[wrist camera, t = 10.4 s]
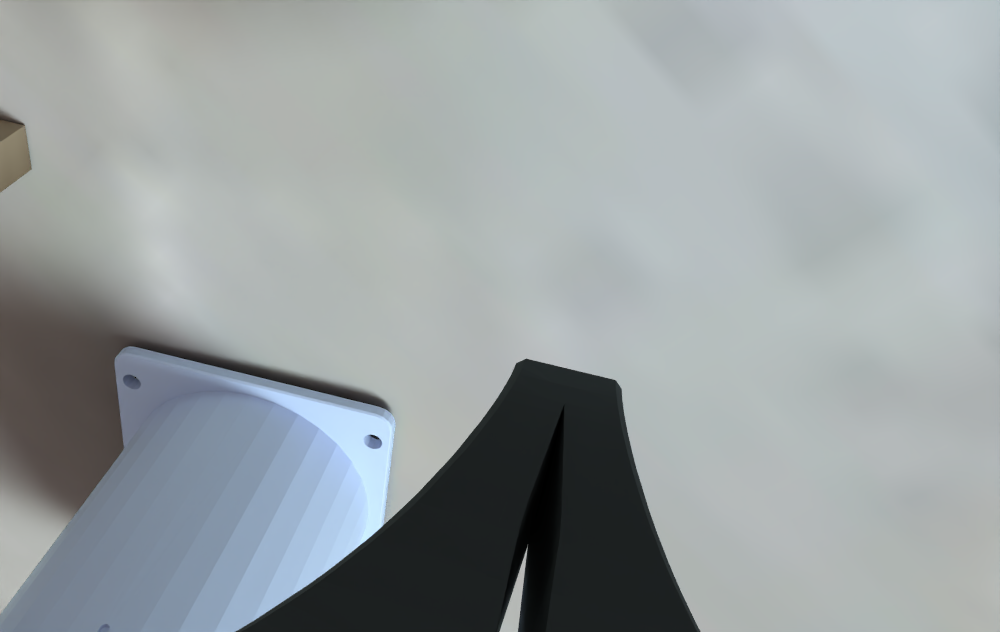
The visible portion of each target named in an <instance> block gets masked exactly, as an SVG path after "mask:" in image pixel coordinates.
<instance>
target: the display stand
mask: <svg viewBox="0 0 1000 632" xmlns="http://www.w3.org/2000/svg"><path fill="white" fill-rule="evenodd" d="M30 170H31V162H30V156H29V149H28V143H27V136H26V130H25V125H21V124H16V123H12V122H8V121H4V120H0V192H2V191H3V190H4V189H6V188H7V187H8V186H10V185H11V184H12V183H14V182H15V181H16V180H18V179H19V178H20V177H22V176H23V175H24V174H26V173H27V172H28V171H30Z"/></svg>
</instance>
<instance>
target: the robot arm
mask: <svg viewBox="0 0 1000 632" xmlns="http://www.w3.org/2000/svg"><path fill="white" fill-rule="evenodd" d="M114 365H115V374H116V383H117V391H118V400H119V409H120V418H121V427H122V435H123V444H124V450H123V451H122V452H121V454H120V455H119V456H118V458H117V459H116V460H115V462H114V463H113V464H112V466H111V467H110V468H109V470H108V471H107V473H106V474H105V475H104V477H103V478H102V479H101V481H100V482H99V483H98V485H97V486H96V487H95V489H94V490H93V491H92V493H91V494H90V495H89V497H88V498H87V499H86V501H85V502H84V503H83V505H82V506H81V507H80V509H79V510H78V511H77V513H76V514H75V515H74V517H73V518H72V519H71V521H70V522H69V523H68V525H67V526H66V527H65V529H64V530H63V531H62V533H61V534H60V535H59V537H58V538H57V539H56V541H55V542H54V543H53V545H52V546H51V547H50V549H49V550H48V551H47V553H46V554H45V555H44V557H43V558H42V559H41V561H40V562H39V563H38V565H37V566H36V567H35V569H34V570H33V571H32V573H31V574H30V575H29V577H28V578H27V579H26V581H25V582H24V583H23V585H22V586H21V587H20V589H19V590H18V591H17V593H16V594H15V595H14V597H13V598H12V599H11V601H10V602H9V603H8V605H7V606H6V607H5V609H4V610H3V611H2V613H1V614H0V632H499V631H500V628H501V625H502V622H503V619H504V616H505V613H506V610H507V607H508V604H509V601H510V598H511V595H512V592H513V588H514V585H515V582H516V579H517V576H518V573H519V570H520V567H521V564H522V561H523V558H524V555H525V552H526V549H527V546H528V550H527V558H526V567H525V576H524V584H523V593H522V602H521V611H520V620H519V628H518V632H700V630H699V628H698V626H697V624H696V622H695V620H694V618H693V616H692V614H691V612H690V610H689V608H688V606H687V603H686V601H685V599H684V597H683V595H682V593H681V591H680V588H679V586H678V584H677V582H676V579H675V577H674V575H673V572H672V570H671V568H670V565H669V563H668V560H667V558H666V555H665V553H664V550H663V547H662V545H661V542H660V540H659V537H658V534H657V532H656V529H655V526H654V523H653V520H652V517H651V515H650V512H649V509H648V506H647V502H646V499H645V496H644V493H643V489H642V486H641V483H640V479H639V476H638V473H637V469H636V466H635V462H634V458H633V454H632V450H631V446H630V441H629V437H628V432H627V427H626V422H625V416H624V410H623V402H622V389H621V388H620V386H619V385H618V383H617V382H616V380H612V379H608V378H604V377H600V376H596V375H592V374H587V373H583V372H579V371H575V370H571V369H567V368H562V367H558V366H554V365H550V364H546V363H542V362H537V361H533V360H529V359H525V360H523V361H520V362H518V363H516V365H515V368H514V370H513V372H512V374H511V376H510V378H509V380H508V382H507V384H506V385H505V387H504V389H503V390H502V392H501V393H500V395H499V396H498V398H497V400H496V401H495V402H494V404H493V405H492V407H491V408H490V409H489V411H488V412H487V414H486V415H485V416H484V418H483V419H482V421H481V422H480V423H479V424H478V425H477V427H476V428H475V429H474V430H473V432H472V433H471V434H470V435H469V437H468V438H467V439H466V440H465V442H464V443H463V444H462V445H461V447H460V448H459V449H458V450H457V451H456V453H455V454H454V455H453V456H452V457H451V458H450V459H449V461H448V462H447V463H446V464H445V465H444V466H443V467H442V468H441V469H440V470H439V471H438V472H437V473H436V474H435V475H434V477H433V478H432V479H431V480H430V481H429V482H428V483H427V484H426V485H425V486H424V487H423V488H422V489H421V490H420V491H419V492H418V493H417V494H416V495H415V496H414V497H413V498H412V499H411V500H410V501H409V502H408V503H407V504H406V505H405V506H404V507H403V508H402V509H401V510H400V511H399V512H398V513H397V514H396V515H394V516H393V517H392V518H391V519H390V520H389V521H388V522H387V523H386V524H384V516H385V507H386V499H387V491H388V482H389V474H390V466H391V457H392V449H393V440H394V432H395V419H394V417H393V416H392V414H391V413H390V412H388V411H387V410H386V409H383V408H381V407H378V406H374V405H370V404H366V403H362V402H358V401H354V400H349V399H345V398H341V397H337V396H333V395H329V394H325V393H321V392H317V391H313V390H309V389H305V388H301V387H296V386H292V385H288V384H284V383H280V382H276V381H272V380H268V379H264V378H260V377H256V376H252V375H248V374H244V373H239V372H235V371H231V370H227V369H223V368H219V367H215V366H211V365H207V364H203V363H199V362H195V361H191V360H186V359H182V358H178V357H174V356H170V355H166V354H162V353H158V352H154V351H150V350H146V349H142V348H138V347H130V346H129V347H126V348H123V349H122V351H121V352H120V353H119V354H118V355H117V356H116V358H115V362H114ZM132 375H133V376H135V377H136V378H137V379H139V380H137V379H135V378H134V377H133V376H132ZM370 435H375V436H377V437H379V438H380V439H375V438H373V437H371V436H370ZM383 524H384V525H383Z"/></svg>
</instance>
